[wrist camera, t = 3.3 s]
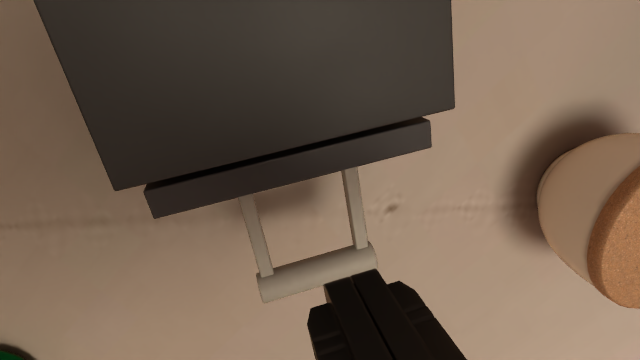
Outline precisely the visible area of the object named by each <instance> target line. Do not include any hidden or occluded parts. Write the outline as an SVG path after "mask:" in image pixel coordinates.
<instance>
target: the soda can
mask: <svg viewBox="0 0 640 360" xmlns="http://www.w3.org/2000/svg"><path fill="white" fill-rule="evenodd" d="M0 360H26V359H25V358H23V357H22V356H20V355H18V354H16V353H13V352H10V351H6V350H0Z"/></svg>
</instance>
